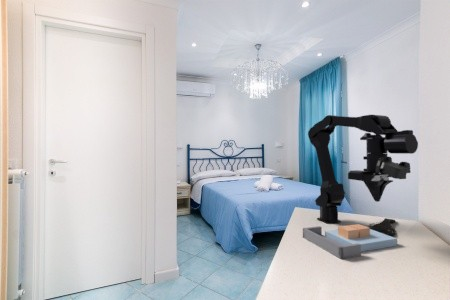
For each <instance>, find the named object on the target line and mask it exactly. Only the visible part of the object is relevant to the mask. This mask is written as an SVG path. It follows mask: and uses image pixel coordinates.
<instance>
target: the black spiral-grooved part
mask: <svg viewBox="0 0 450 300" xmlns="http://www.w3.org/2000/svg"><path fill="white" fill-rule="evenodd" d="M395 222H396V220H395V219H392V218H386V217H385V218H384V219H383V220H382V221H381V220H380V221H379V222H378V223H375V222H374V223H371V224H370V223H369V225H368V226H367V227H368V228H370V229H372V230H374V231H377V232H380V233H383V234H386V235H389V236H395V235H396V233H397V232H396V227H395V225H392V223H395Z"/></svg>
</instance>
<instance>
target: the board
mask: <svg viewBox="0 0 450 300" xmlns="http://www.w3.org/2000/svg"><path fill="white" fill-rule="evenodd" d="M324 236H326V237H328V238H330V239H332V240H334V241H336V242H338V243H340V244H342V245H351V244H357V243H359V244H361V252H365V251H372V250H377V249H383V248H389V247H393V246H394V247H395V246H398V238H396V237H393V236H392V235H389V234H385V233H380V232H377V231H374V230H372V229H370V236H367V237H359V238H354V239H346V238H344V237H342V236H340V235H338V228H336V229H329V230H324Z"/></svg>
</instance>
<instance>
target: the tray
mask: <svg viewBox="0 0 450 300" xmlns="http://www.w3.org/2000/svg"><path fill="white" fill-rule="evenodd" d="M322 228H323V227H322V226H321V225H319V226H318V225H317V226H310V227H302V238H304V239H305V240H307V241H308V242H310V243H312V244H314V245H315V246H318V247H319V248H321V249H322V250H325V251H326V252H328V253H330V254H331V255H333V256H335V257H337V258H338V259H340V260H344V259H349V258H355V257H360V256H362V251H361V244H359V243H357V244H351V245H342V244H340V243H338V242H336V241H334V240H332V239H330V238H328V237H326V236H325V234H323V233H322V232H323V230H322Z"/></svg>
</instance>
